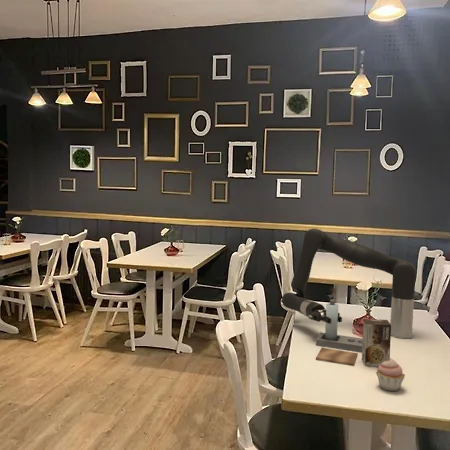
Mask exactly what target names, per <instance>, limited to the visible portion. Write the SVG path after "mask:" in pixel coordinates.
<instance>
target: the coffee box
mask: <svg viewBox="0 0 450 450" xmlns="http://www.w3.org/2000/svg"><path fill="white" fill-rule="evenodd" d="M391 337H392V335H391V324H390V321H389V320H388V319H377V318H375V319H373V318H372V319H371V318H363V326H362V338H363V342H362V352H361V361H362V363H363V367H364V366H365V367H379V365H381V364H382V363H383V362H385V361H389V359H390V358H391V339H392V338H391Z"/></svg>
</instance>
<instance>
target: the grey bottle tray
mask: <svg viewBox="0 0 450 450" xmlns="http://www.w3.org/2000/svg"><path fill="white" fill-rule="evenodd" d="M362 342H363V337H362V338H361V337H355V336H349V335H341V334H337V339H327V338H325V332H320V333H319V334H318V336H317V338H316V339H315V346H317V347H318V346H319V347H323V348H329V349H336V350H337V349H338V350H342V351H349V352H356V353H362Z"/></svg>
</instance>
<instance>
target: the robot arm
mask: <svg viewBox="0 0 450 450" xmlns="http://www.w3.org/2000/svg"><path fill="white" fill-rule="evenodd" d="M318 250H322V251H326V252H328V253H332V254H334V255H336V256H338V257H339V258H341V259H342V260H345V261H346V262H349V263H352V264H354V265H356V266H360V267H363V268H368V269H373V270H374V269H375V270H377V271H382V272H385V273H387V274H390V275H392V284H391V305H390V307H391V308H390V321H389V323H390V324H391V337H395V338H399V339H412V337H413V323H414V322H413V320H414V304H415V303H414V302H415V293H416V291H415V290H416V289H415V287H416V276H417V275H416V272H417V270H416V266H415V264H413V263H412V262H410V261H409V260H405V259H402V258H397V257H393V256H389V255H387V254H384V253H383V252H380V251H379V250H375V249H373V248H370V247H369V246H366V245H363V244H360V243H357V242H354V241H350V240H346V239H341V238H338V237H335V236H333V235H331V234H328V233H326V232H325V231H322V230H321V229H318V228H309V229H307V230H306V232H305V233H304V235H303V242H302V247H301V253H300V257H299V259H298V262H297V266H296V268H295V271H294V274H293V278H292V279H291V283H290V287H291V288H292V289H294V290H295V292H296V293H293V292H285V293H284V294H283V295H282V296H281V297H282V298H281V303H282V306H284V307H285V308H288V309H290V310H292V311H296V312H298V313H300V314H302V315H304V316H305V317H306V318H308V319H309V320H312V321H315V322H322V323H323V322H325V323H326V322H327V323H329V324H330V323H331V318H329V317H327V316H326V308H325V306H324V305H323V304H321V303H319V302H316V301H314V300H310V299H307V298H305V295H306V287H307V285H308V281H309V278H310V275H311V272H312V265H313V263H314V262H313V261H314V259H315V255H316V254H317V251H318ZM342 321H343V317H342V316H341V313H340V312H339V311H338V323H343V322H342Z"/></svg>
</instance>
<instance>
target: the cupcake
mask: <svg viewBox="0 0 450 450" xmlns="http://www.w3.org/2000/svg"><path fill="white" fill-rule="evenodd" d="M377 367H378V368H377V369H376V371H375V374H376V376H377V380H378V384H379V387H380V388H381V389H382V390H385V391H387V392H388V391H389V392H397V391H399V390H400V389H401V387H402V384H403V381H404V379H405V378H406V374H404V373H403V368H402V366H401V365H400V364H399V363H397V361H396V360H394V359H393V358H391V357H390V359H389V361H385V362H383V363H382V364H381V365H379V366H377Z"/></svg>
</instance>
